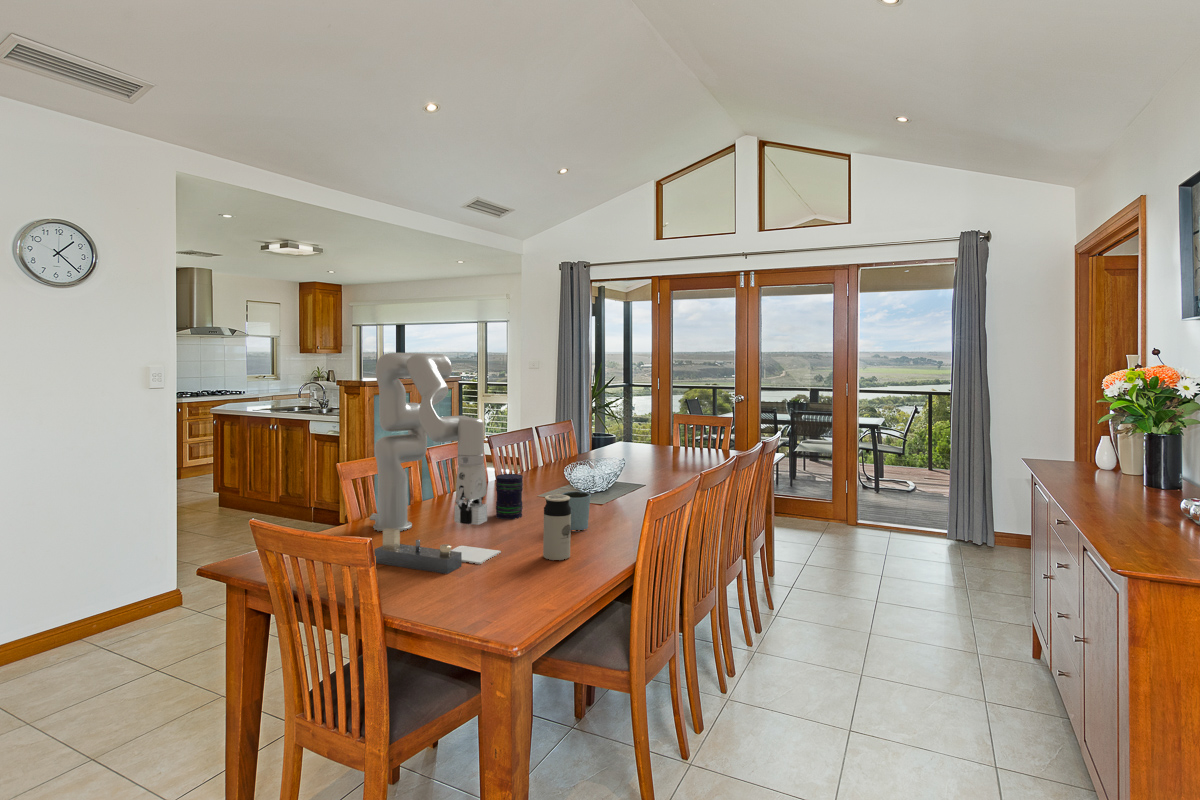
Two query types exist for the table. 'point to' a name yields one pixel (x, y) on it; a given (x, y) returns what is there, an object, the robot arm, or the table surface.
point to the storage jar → (509, 496)
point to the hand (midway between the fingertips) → (470, 520)
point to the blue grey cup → (579, 509)
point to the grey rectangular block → (474, 513)
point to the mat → (475, 554)
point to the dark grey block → (416, 555)
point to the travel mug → (557, 527)
